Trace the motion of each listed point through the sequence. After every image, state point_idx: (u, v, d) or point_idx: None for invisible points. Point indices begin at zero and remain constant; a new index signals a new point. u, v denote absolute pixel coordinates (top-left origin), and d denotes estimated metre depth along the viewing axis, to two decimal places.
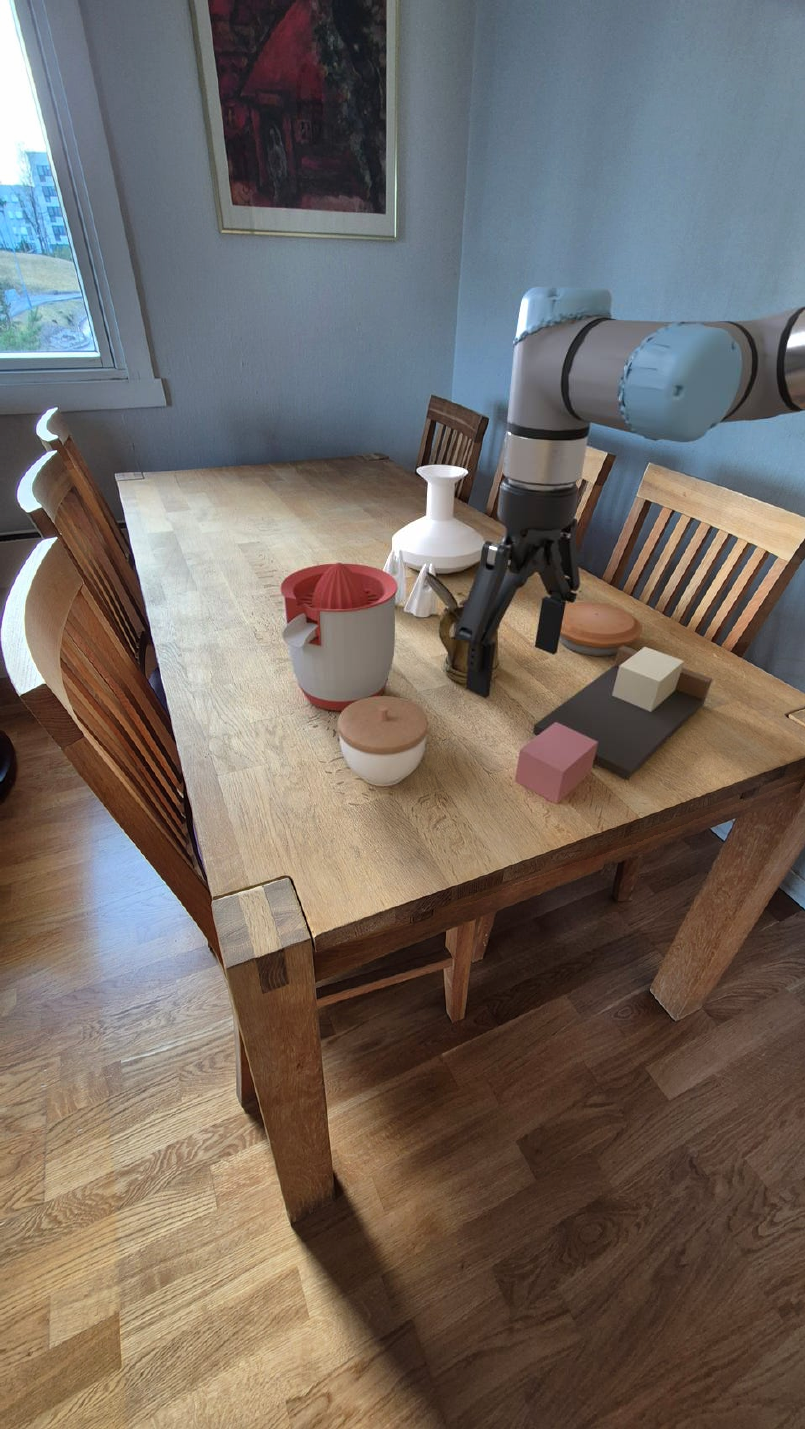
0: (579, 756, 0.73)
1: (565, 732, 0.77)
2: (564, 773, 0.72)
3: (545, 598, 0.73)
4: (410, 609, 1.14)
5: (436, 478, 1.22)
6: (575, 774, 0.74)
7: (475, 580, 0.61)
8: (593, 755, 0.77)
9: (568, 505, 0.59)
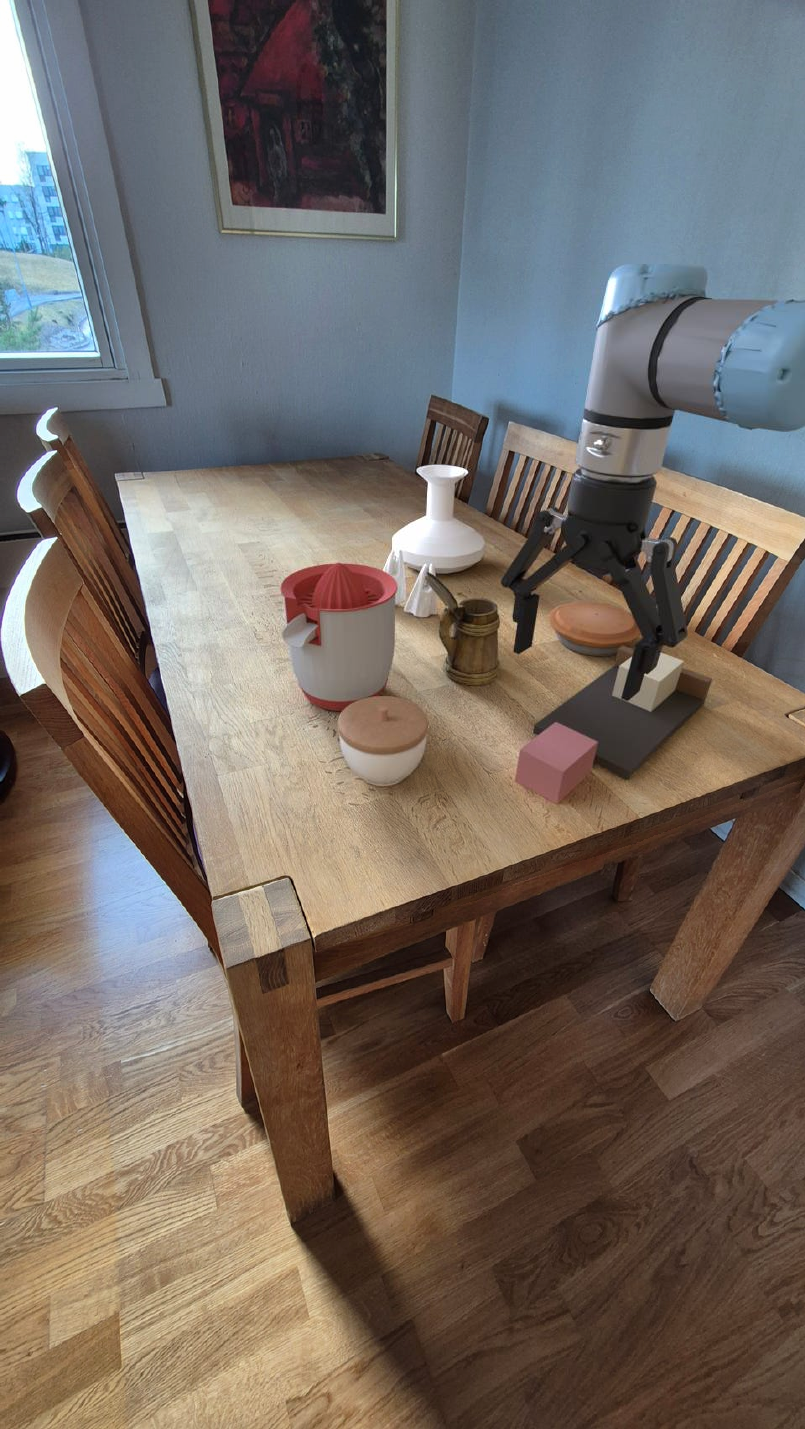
0: (579, 756, 0.73)
1: (565, 732, 0.77)
2: (564, 773, 0.72)
3: (526, 601, 0.69)
4: (410, 609, 1.14)
5: (436, 478, 1.22)
6: (575, 774, 0.74)
7: (667, 584, 0.57)
8: (593, 755, 0.77)
9: None
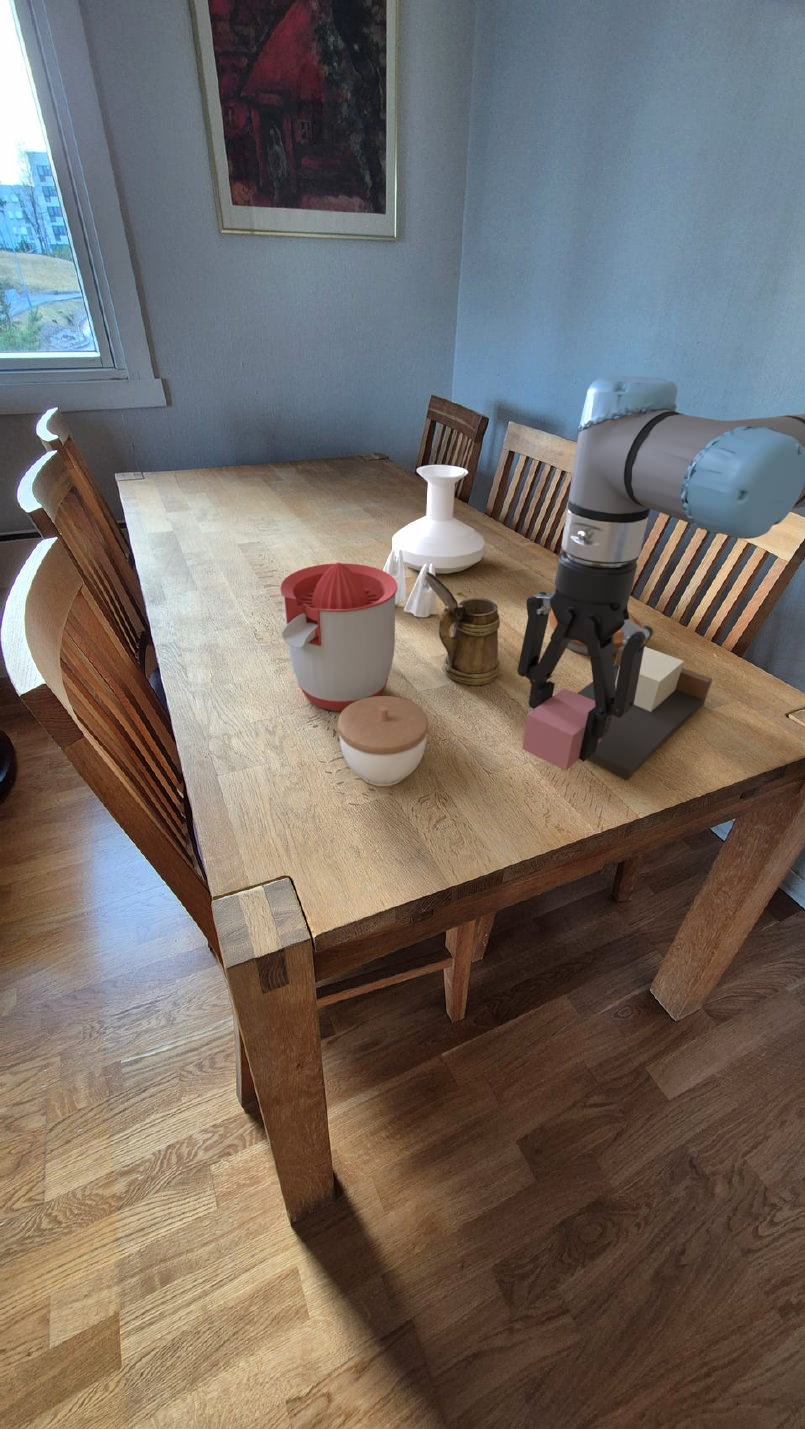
0: None
1: (574, 697, 0.74)
2: (574, 737, 0.68)
3: (542, 690, 0.72)
4: (410, 609, 1.14)
5: (436, 478, 1.22)
6: None
7: (631, 668, 0.63)
8: None
9: None
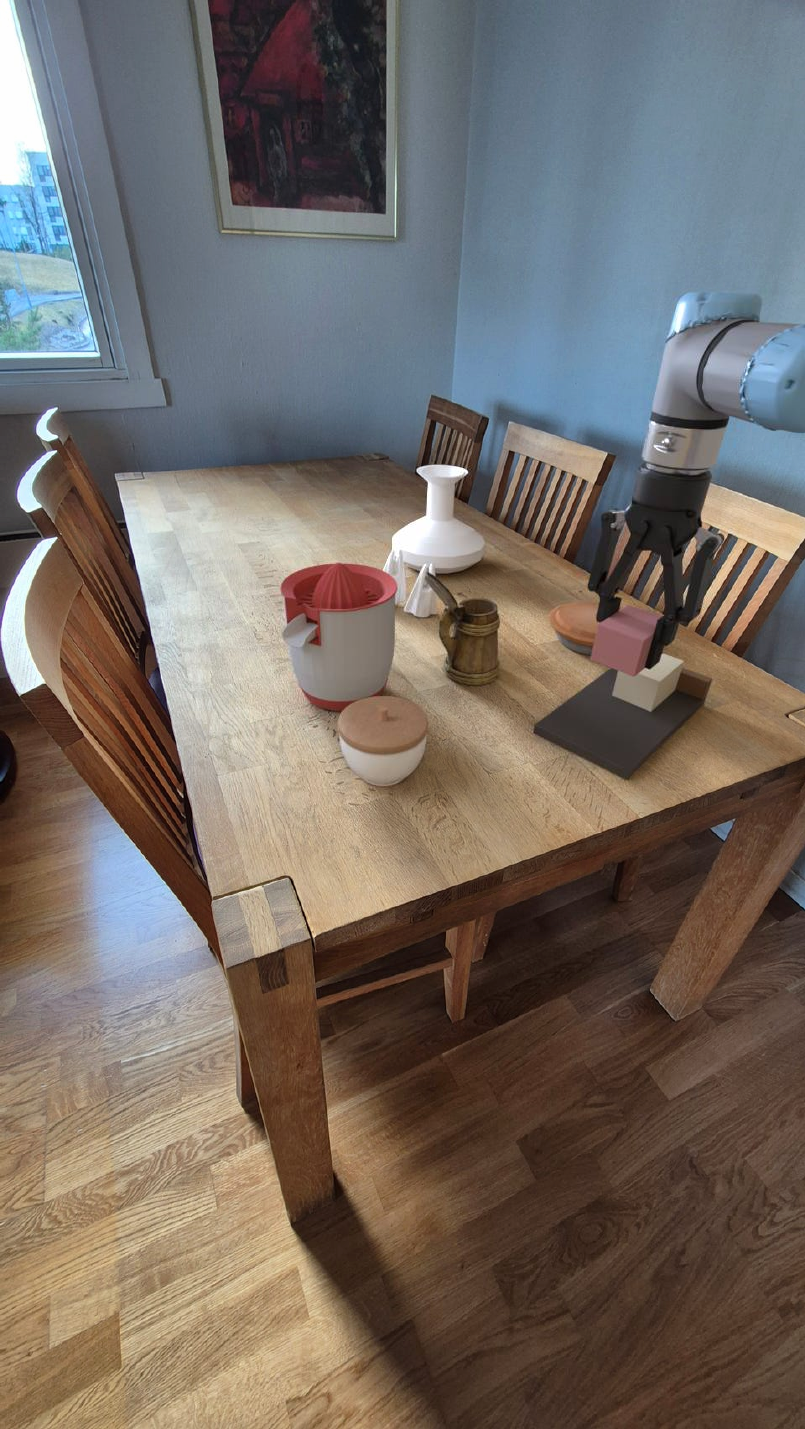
0: None
1: (639, 612, 0.79)
2: (644, 643, 0.74)
3: (611, 603, 0.77)
4: (410, 609, 1.14)
5: (436, 478, 1.22)
6: None
7: (703, 573, 0.68)
8: None
9: None
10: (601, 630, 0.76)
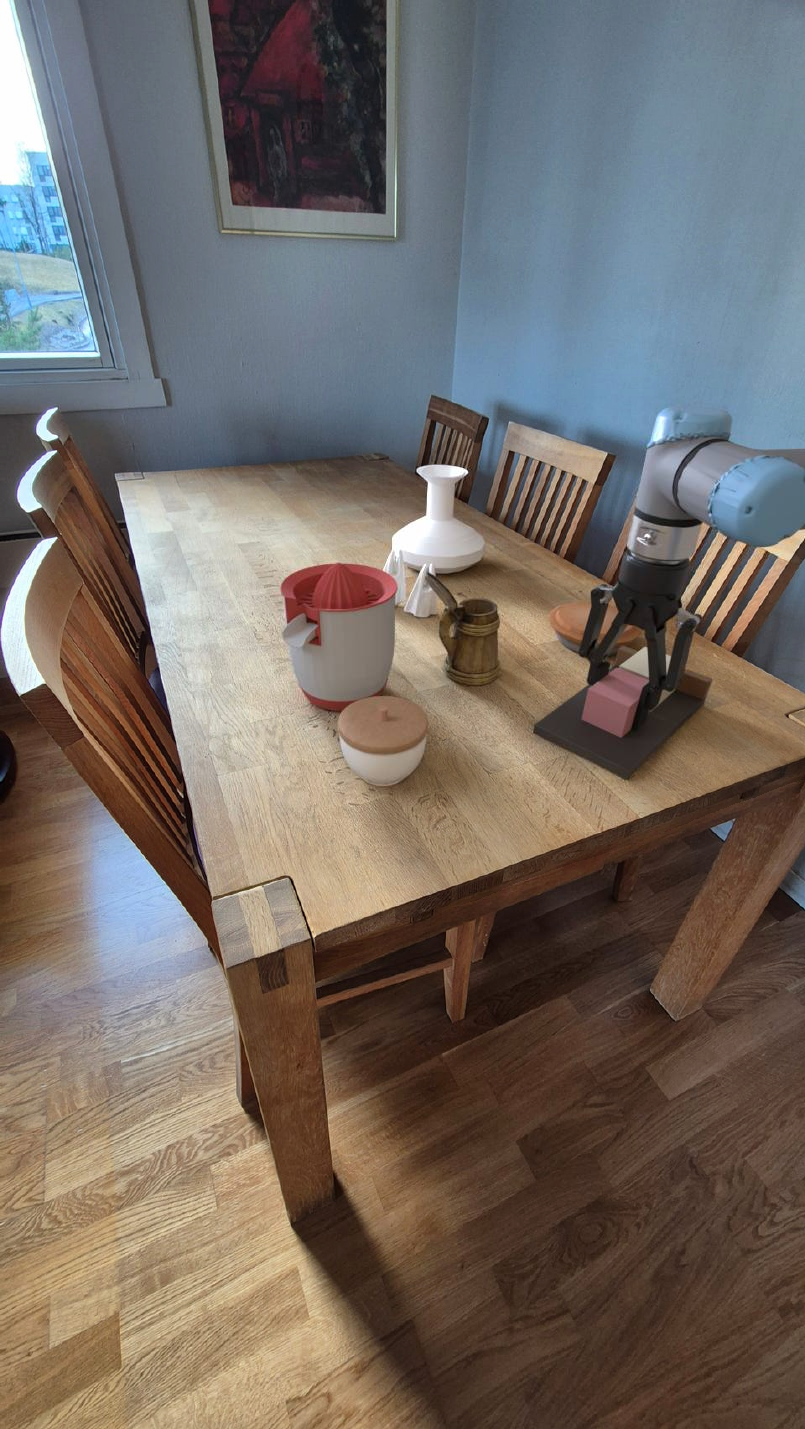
0: None
1: (626, 676, 0.86)
2: (630, 708, 0.80)
3: (600, 669, 0.84)
4: (410, 609, 1.14)
5: (436, 478, 1.22)
6: None
7: (683, 649, 0.75)
8: None
9: None
10: (591, 694, 0.83)
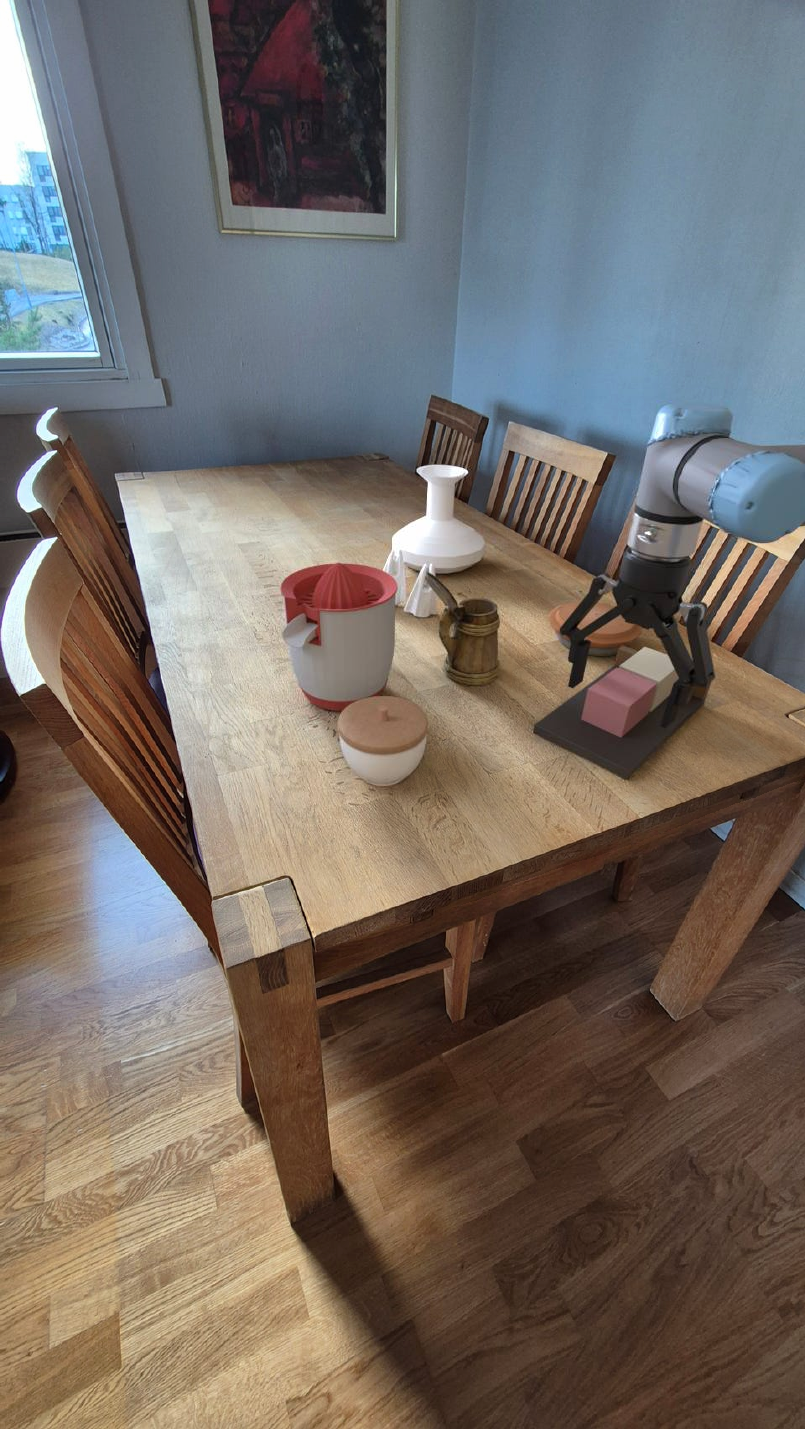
0: (642, 694, 0.82)
1: (626, 675, 0.86)
2: (630, 708, 0.80)
3: (580, 646, 0.84)
4: (410, 609, 1.14)
5: (436, 478, 1.22)
6: (637, 711, 0.83)
7: (699, 639, 0.73)
8: (652, 696, 0.85)
9: None
10: (591, 694, 0.83)
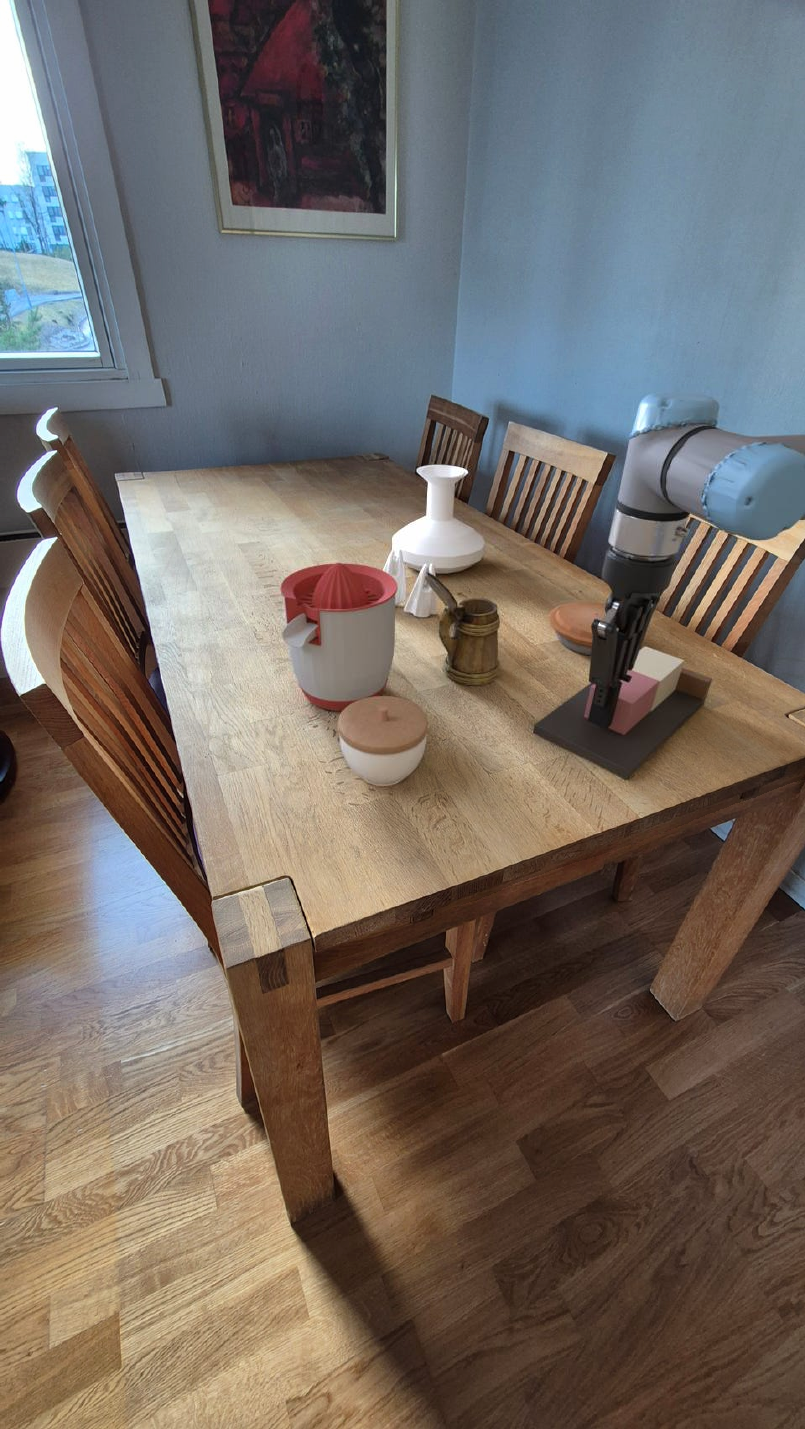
0: (644, 692, 0.82)
1: (629, 673, 0.86)
2: (633, 705, 0.81)
3: (616, 684, 0.78)
4: (410, 609, 1.14)
5: (436, 478, 1.22)
6: (639, 708, 0.83)
7: None
8: (654, 693, 0.86)
9: None
10: None
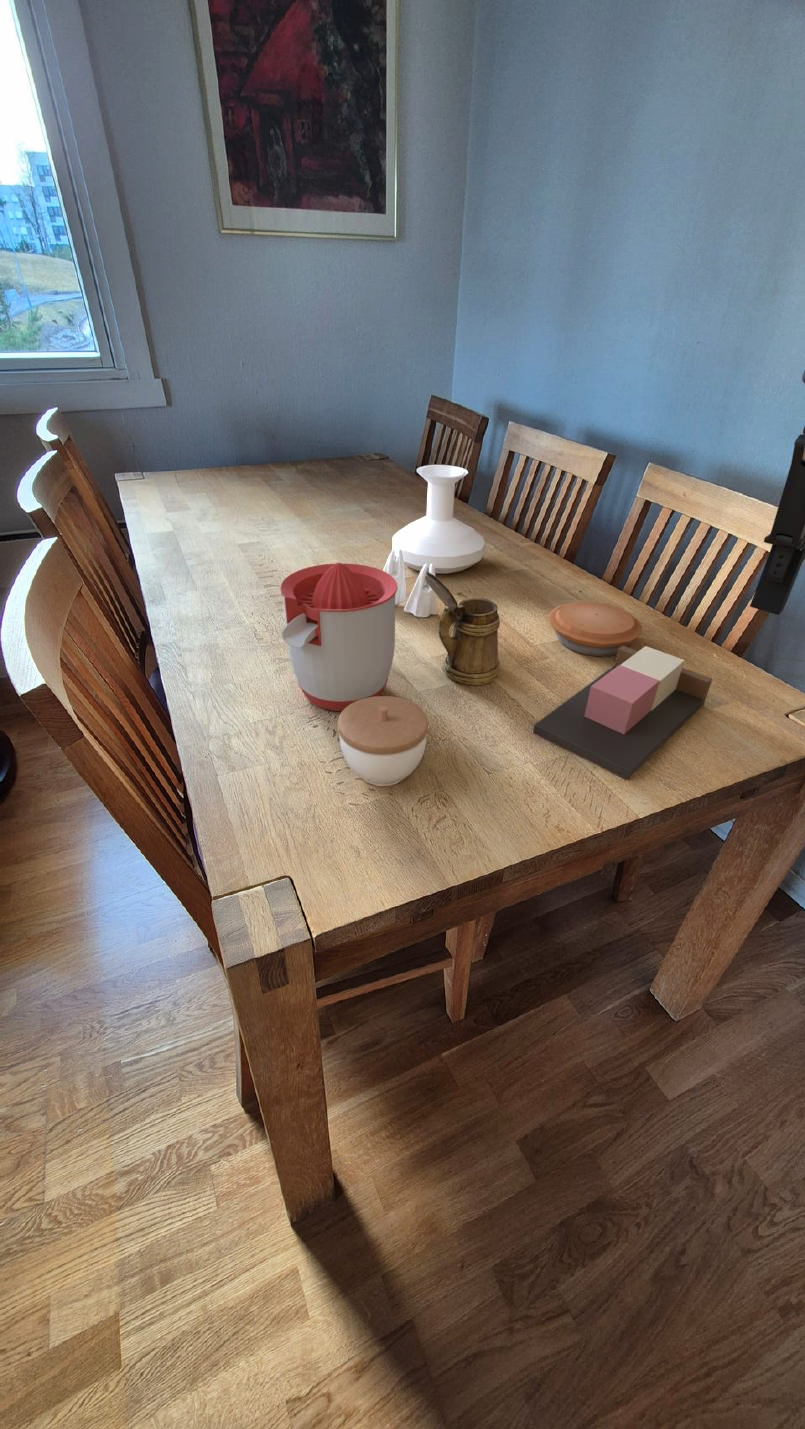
0: (645, 691, 0.83)
1: (629, 673, 0.86)
2: (633, 705, 0.81)
3: (802, 548, 0.58)
4: (410, 609, 1.14)
5: (436, 478, 1.22)
6: (640, 708, 0.84)
7: None
8: (654, 693, 0.86)
9: None
10: (594, 691, 0.84)
